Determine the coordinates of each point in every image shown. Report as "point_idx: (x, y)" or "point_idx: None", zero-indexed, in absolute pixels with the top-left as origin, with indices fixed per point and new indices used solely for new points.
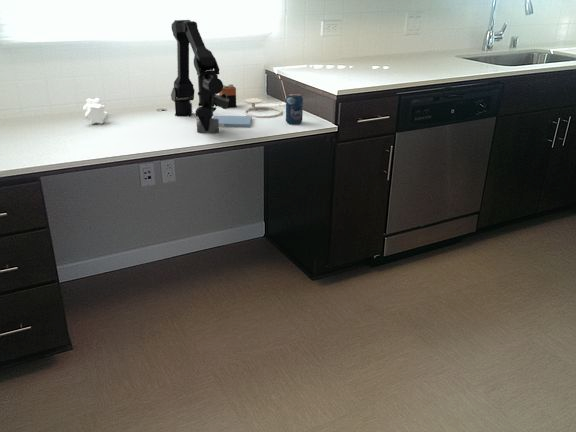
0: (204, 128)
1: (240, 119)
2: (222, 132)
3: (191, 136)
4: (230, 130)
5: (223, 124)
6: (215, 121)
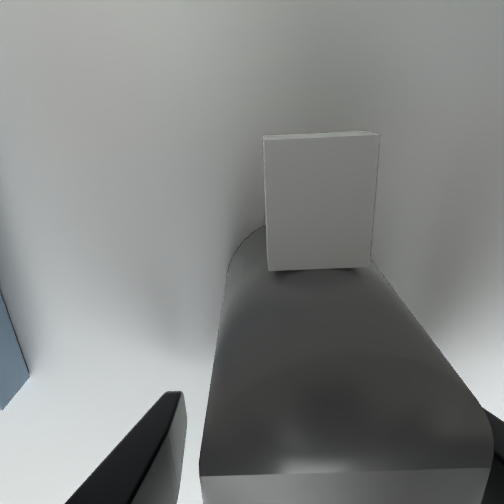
0: None
1: None
2: None
3: None
4: (165, 5)
5: (276, 156)
6: (471, 399)
